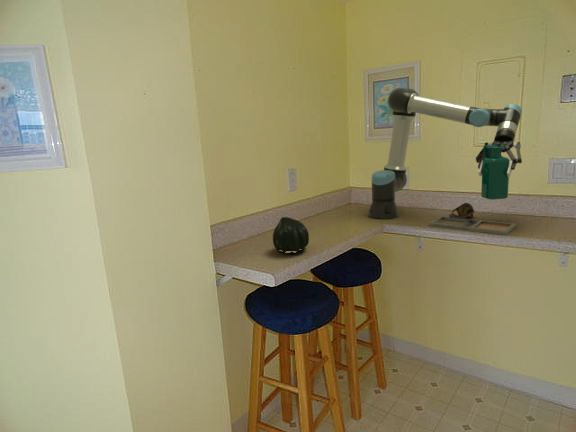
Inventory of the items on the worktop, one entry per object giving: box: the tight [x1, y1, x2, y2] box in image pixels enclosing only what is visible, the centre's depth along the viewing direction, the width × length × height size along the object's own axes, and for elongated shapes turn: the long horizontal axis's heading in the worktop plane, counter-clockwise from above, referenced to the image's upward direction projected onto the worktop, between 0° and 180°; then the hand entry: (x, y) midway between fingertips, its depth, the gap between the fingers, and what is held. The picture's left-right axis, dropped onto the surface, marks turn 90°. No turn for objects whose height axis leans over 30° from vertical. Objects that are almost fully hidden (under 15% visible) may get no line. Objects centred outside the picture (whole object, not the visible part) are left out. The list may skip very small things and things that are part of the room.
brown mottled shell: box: [448, 202, 475, 219], centre depth 191 cm, size 7×13×10 cm
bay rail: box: [428, 215, 516, 236], centre depth 175 cm, size 32×15×1 cm, turn 49°
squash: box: [272, 216, 310, 252], centre depth 155 cm, size 14×15×15 cm
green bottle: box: [480, 145, 511, 201], centre depth 165 cm, size 10×8×22 cm
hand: (493, 174), depth 162 cm, fingers closed on green bottle, 10 cm apart
